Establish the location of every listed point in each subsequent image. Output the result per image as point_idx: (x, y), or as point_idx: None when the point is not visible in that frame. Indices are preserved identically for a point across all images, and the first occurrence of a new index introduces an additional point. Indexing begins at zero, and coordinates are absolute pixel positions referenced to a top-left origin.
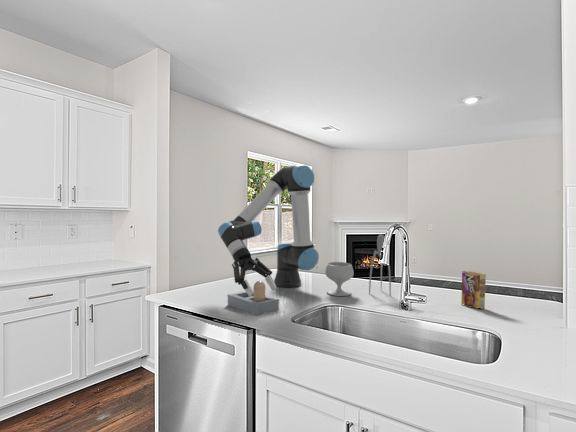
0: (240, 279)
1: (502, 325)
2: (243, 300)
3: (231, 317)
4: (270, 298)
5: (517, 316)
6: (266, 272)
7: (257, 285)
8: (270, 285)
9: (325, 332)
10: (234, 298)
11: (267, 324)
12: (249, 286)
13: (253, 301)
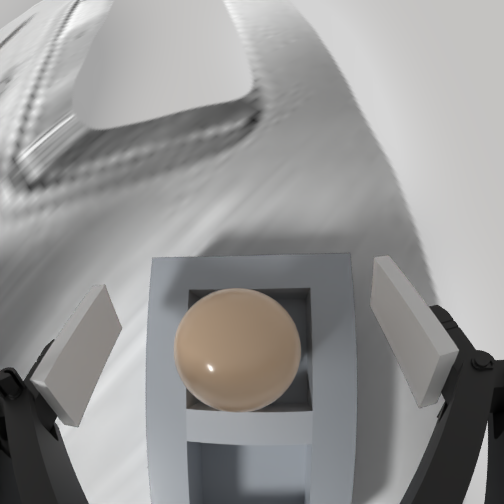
0: (498, 372)
1: (47, 11)
2: (355, 400)
3: None
4: (181, 305)
5: (8, 32)
6: (22, 416)
7: (287, 320)
8: (101, 347)
9: (255, 34)
10: (350, 493)
11: (363, 151)
12: (410, 293)
13: (327, 322)
